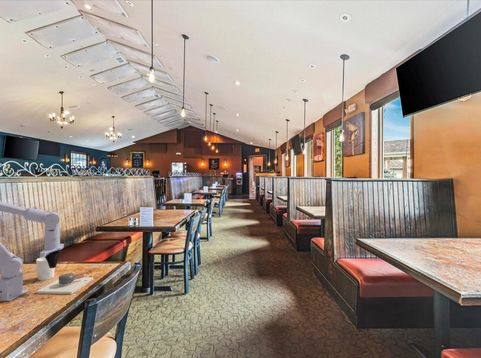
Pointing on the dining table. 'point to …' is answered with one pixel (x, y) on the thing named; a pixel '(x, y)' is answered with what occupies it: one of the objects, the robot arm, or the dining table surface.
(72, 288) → the joystick base
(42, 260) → the white cup
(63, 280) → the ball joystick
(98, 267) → the dining table surface
